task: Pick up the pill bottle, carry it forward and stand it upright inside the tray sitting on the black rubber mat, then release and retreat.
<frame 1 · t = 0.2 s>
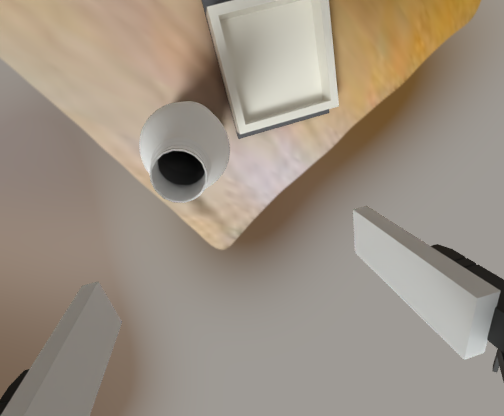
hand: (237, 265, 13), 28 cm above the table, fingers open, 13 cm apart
water bottle: (191, 128, 36), on the table
tray: (273, 64, 34), resting on mat
mat: (270, 57, 35), on the table
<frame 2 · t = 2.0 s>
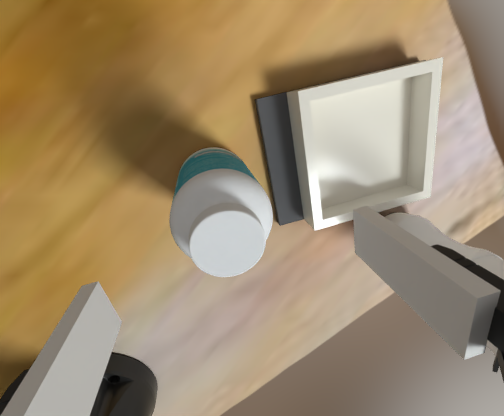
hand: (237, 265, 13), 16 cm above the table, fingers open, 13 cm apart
water bottle: (389, 230, 35), on the table
pill bottle: (214, 180, 28), on the table
tray: (355, 146, 28), resting on mat
mat: (343, 147, 29), on the table
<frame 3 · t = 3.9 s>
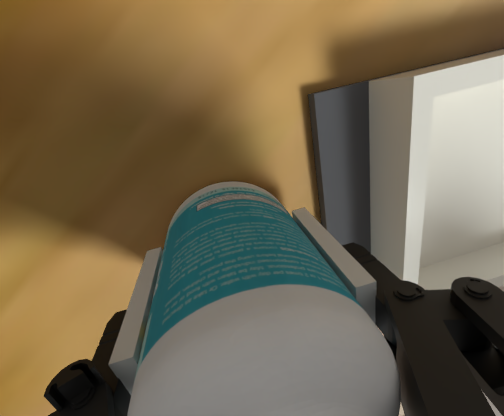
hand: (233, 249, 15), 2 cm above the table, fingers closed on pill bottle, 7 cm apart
pill bottle: (229, 233, 16), on the table, touching gripper
tray: (468, 174, 17), resting on mat
mat: (444, 175, 17), on the table
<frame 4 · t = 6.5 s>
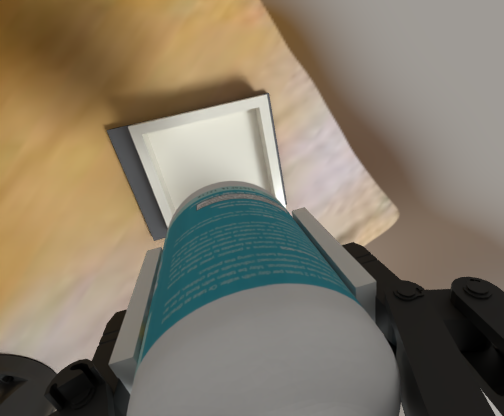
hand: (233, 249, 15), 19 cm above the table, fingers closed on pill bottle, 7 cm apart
pill bottle: (229, 233, 16), point 17 cm above the table, touching gripper
tray: (215, 169, 31), resting on mat
mat: (207, 170, 32), on the table
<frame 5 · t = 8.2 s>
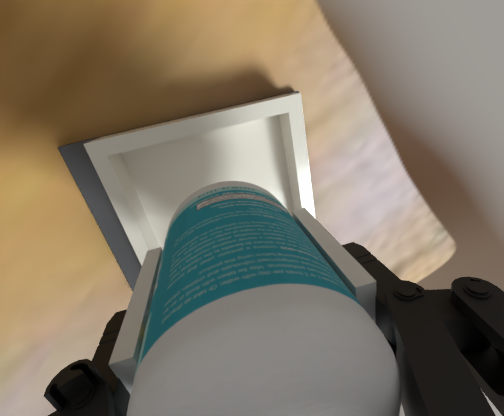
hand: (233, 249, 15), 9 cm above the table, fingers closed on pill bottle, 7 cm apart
pill bottle: (229, 233, 16), point 7 cm above the table, touching gripper
tray: (220, 199, 22), resting on mat
mat: (208, 199, 23), on the table
when the fingers open (5 cm above the table, at t = 9.5 s): pill bottle drops 1 cm, resting on tray.
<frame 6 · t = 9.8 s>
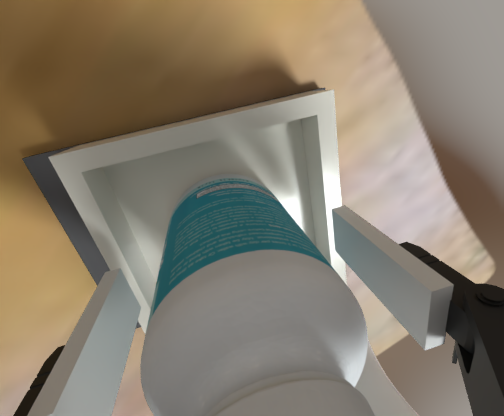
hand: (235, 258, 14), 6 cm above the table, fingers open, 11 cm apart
water bottle: (308, 318, 25), on the table
pill bottle: (226, 222, 18), point 1 cm above the table, touching tray
tray: (227, 220, 18), resting on mat
mat: (212, 219, 19), on the table
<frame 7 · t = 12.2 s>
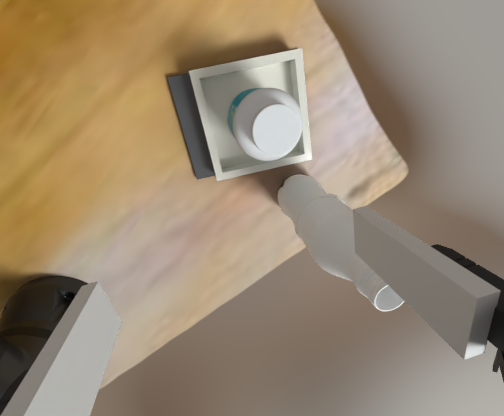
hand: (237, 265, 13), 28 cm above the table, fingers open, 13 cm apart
water bottle: (294, 190, 43), on the table
pill bottle: (252, 117, 36), point 1 cm above the table, touching tray
tray: (252, 117, 37), resting on mat
mat: (245, 118, 37), on the table
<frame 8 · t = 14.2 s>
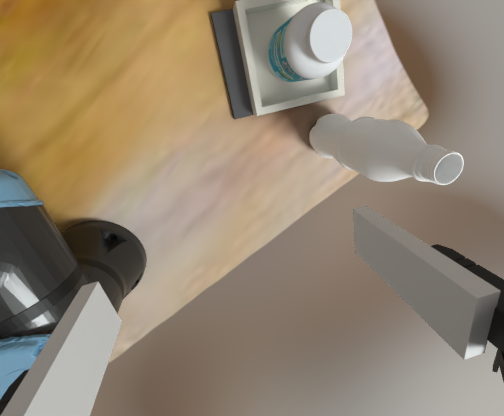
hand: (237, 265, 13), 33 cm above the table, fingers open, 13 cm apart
water bottle: (323, 134, 46), on the table
pill bottle: (288, 55, 38), point 1 cm above the table, touching tray
tray: (288, 56, 39), resting on mat
mat: (280, 58, 39), on the table
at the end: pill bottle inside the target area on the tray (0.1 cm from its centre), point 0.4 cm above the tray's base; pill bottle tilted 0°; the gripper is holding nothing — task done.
